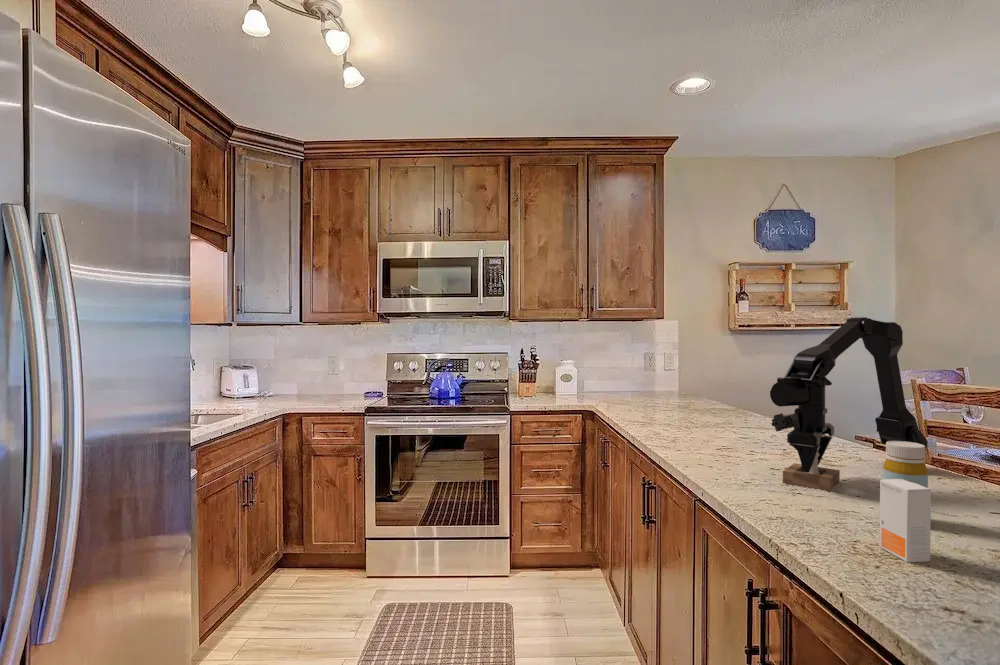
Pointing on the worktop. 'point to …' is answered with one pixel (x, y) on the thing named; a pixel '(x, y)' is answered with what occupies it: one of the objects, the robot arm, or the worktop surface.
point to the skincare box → (905, 519)
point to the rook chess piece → (815, 466)
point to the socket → (811, 477)
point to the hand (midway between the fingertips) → (811, 468)
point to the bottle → (905, 462)
